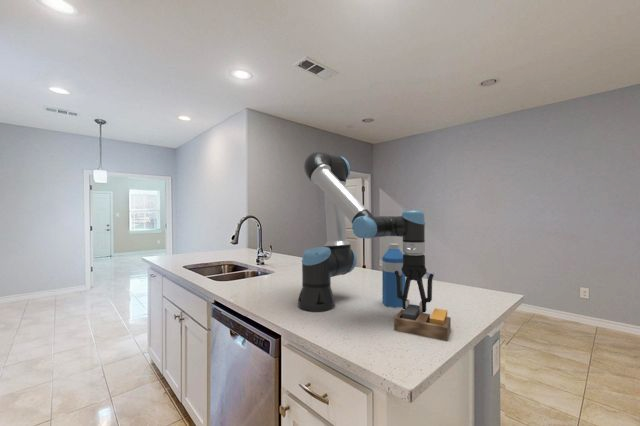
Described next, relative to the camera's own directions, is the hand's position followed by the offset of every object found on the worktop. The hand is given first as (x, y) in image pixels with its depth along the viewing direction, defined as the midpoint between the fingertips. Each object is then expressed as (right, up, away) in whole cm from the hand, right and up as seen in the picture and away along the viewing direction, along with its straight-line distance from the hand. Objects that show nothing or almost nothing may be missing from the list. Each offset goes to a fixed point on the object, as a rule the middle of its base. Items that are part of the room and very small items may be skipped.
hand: (414, 319), depth 102 cm
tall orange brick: (+5, 0, -8) cm, 9 cm away
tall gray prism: (-2, 0, -4) cm, 4 cm away
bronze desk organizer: (0, 0, -8) cm, 8 cm away
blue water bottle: (-3, 0, +18) cm, 18 cm away
